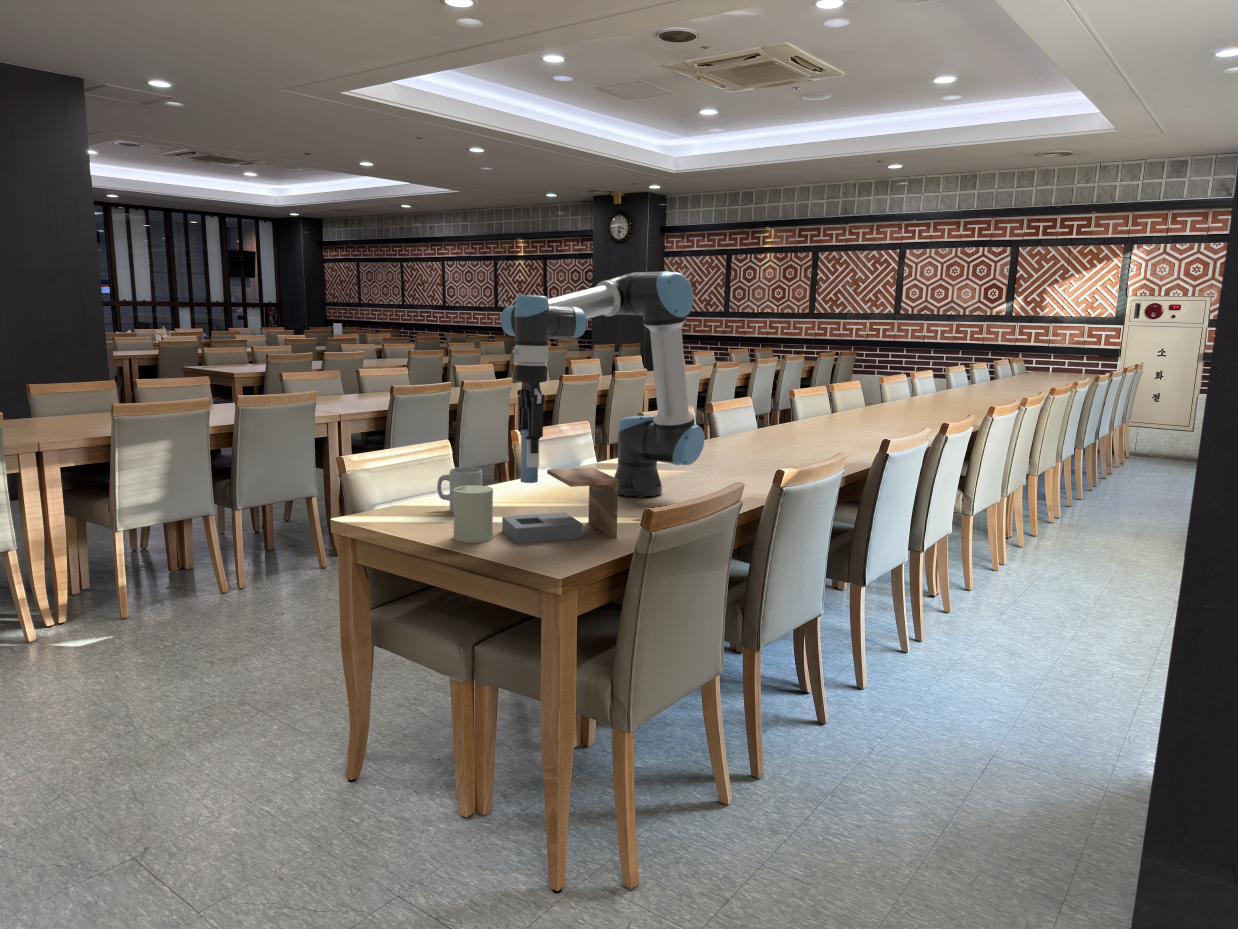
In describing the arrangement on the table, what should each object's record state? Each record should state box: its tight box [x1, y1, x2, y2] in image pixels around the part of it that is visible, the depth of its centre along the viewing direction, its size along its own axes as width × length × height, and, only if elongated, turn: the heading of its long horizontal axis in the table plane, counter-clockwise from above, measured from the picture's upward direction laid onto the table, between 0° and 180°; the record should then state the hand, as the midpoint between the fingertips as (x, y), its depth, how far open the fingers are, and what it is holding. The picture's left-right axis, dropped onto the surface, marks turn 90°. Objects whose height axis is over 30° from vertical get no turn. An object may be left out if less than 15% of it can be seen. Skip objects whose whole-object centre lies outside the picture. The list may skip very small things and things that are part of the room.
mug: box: [436, 466, 483, 514], centre depth 218 cm, size 12×8×11 cm
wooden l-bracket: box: [546, 467, 619, 539], centre depth 200 cm, size 12×17×14 cm
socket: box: [501, 511, 583, 544], centre depth 197 cm, size 16×12×4 cm
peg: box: [520, 429, 539, 484], centre depth 192 cm, size 4×4×12 cm
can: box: [452, 485, 494, 544], centre depth 191 cm, size 9×9×12 cm
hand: (529, 465), depth 193 cm, fingers closed on peg, 4 cm apart
